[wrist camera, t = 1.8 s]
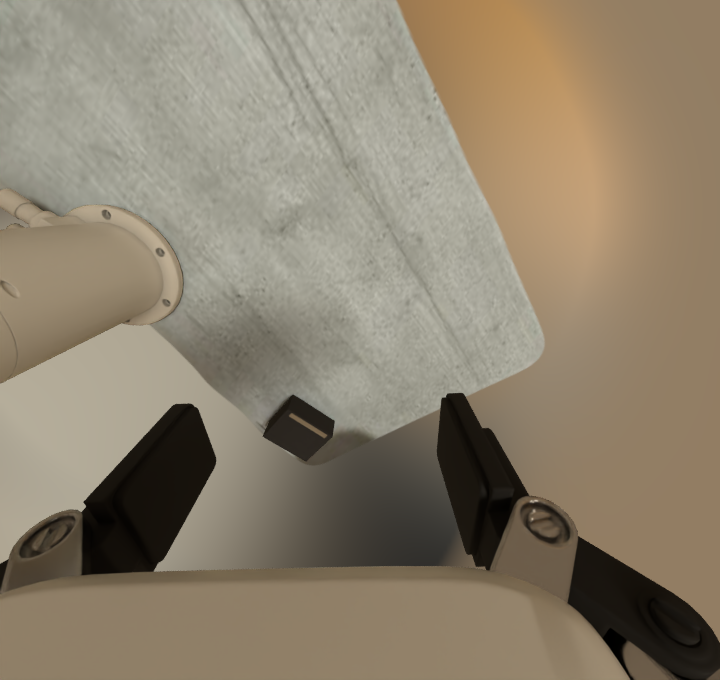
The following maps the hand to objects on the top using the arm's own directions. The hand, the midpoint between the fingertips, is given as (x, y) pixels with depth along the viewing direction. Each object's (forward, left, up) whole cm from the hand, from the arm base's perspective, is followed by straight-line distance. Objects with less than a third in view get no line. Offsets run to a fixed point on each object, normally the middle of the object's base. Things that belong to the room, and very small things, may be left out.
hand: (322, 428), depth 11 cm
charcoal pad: (+7, -20, -23) cm, 31 cm away
